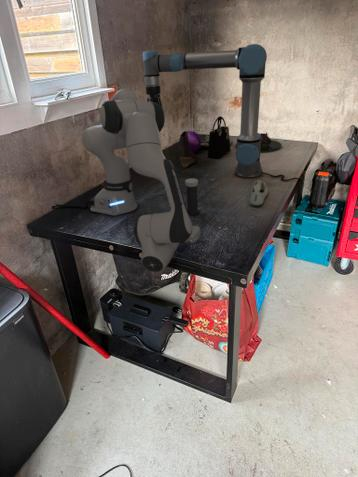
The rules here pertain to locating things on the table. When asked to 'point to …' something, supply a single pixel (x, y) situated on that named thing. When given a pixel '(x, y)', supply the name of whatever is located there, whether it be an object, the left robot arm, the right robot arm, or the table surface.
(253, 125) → the right robot arm
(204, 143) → the pair of gloves
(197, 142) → the decorative orb
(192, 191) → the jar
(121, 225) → the table surface
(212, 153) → the handbag
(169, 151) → the table surface
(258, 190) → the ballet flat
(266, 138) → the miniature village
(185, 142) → the boot
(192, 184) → the lid
